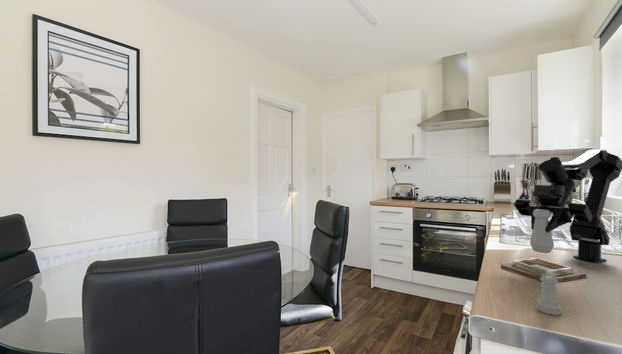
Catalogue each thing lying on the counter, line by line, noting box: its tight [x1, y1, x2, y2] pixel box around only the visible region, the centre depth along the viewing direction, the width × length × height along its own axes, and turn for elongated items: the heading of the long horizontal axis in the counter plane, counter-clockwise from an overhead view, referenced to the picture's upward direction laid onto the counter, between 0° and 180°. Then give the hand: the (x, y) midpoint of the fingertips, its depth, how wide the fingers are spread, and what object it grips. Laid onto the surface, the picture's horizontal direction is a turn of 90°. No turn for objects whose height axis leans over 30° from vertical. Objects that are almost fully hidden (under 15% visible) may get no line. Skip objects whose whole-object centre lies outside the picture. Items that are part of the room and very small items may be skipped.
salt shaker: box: [529, 209, 555, 254], centre depth 88 cm, size 6×6×13 cm
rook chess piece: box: [535, 274, 563, 316], centre depth 63 cm, size 4×4×8 cm
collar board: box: [500, 257, 587, 283], centre depth 88 cm, size 16×14×2 cm
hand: (539, 230), depth 87 cm, fingers closed on salt shaker, 3 cm apart
